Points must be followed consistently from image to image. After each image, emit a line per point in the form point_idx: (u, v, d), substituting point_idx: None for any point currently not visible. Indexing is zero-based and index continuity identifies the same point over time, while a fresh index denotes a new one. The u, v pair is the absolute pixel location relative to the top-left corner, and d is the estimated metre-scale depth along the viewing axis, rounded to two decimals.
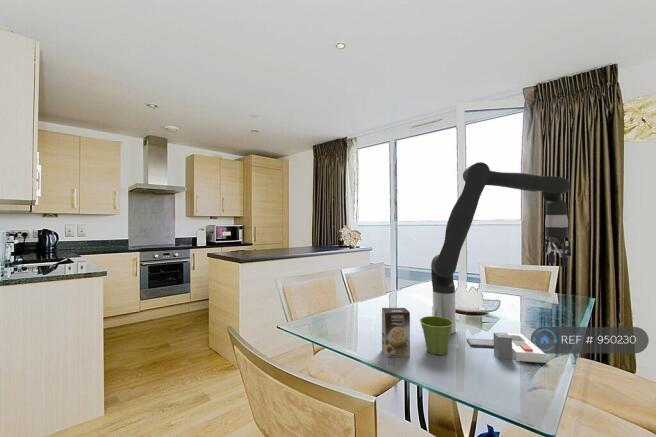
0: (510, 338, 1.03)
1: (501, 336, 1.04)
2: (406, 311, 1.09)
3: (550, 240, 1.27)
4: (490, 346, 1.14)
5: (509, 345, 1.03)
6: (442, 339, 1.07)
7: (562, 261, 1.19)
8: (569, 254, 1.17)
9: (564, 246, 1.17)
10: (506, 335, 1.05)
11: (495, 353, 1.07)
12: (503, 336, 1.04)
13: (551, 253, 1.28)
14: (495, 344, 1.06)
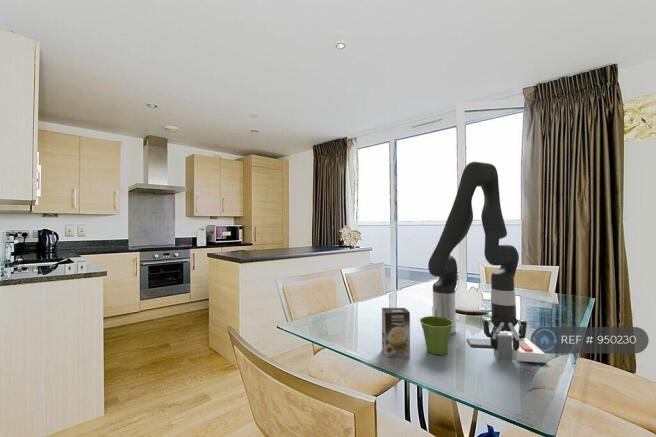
0: (510, 338, 1.03)
1: (501, 336, 1.04)
2: (406, 311, 1.09)
3: (496, 319, 1.05)
4: (490, 346, 1.14)
5: (509, 345, 1.03)
6: (442, 339, 1.07)
7: (518, 344, 1.04)
8: None
9: None
10: (506, 335, 1.05)
11: (495, 353, 1.07)
12: (503, 336, 1.04)
13: None
14: None
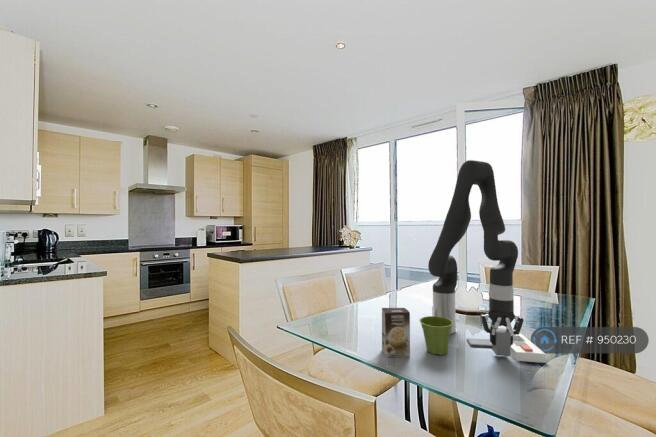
0: (509, 334, 1.03)
1: (500, 331, 1.05)
2: (406, 311, 1.09)
3: (494, 314, 1.05)
4: (490, 346, 1.14)
5: (507, 341, 1.03)
6: (442, 338, 1.07)
7: (512, 340, 1.04)
8: None
9: None
10: (505, 331, 1.05)
11: (493, 348, 1.07)
12: (502, 332, 1.04)
13: None
14: None
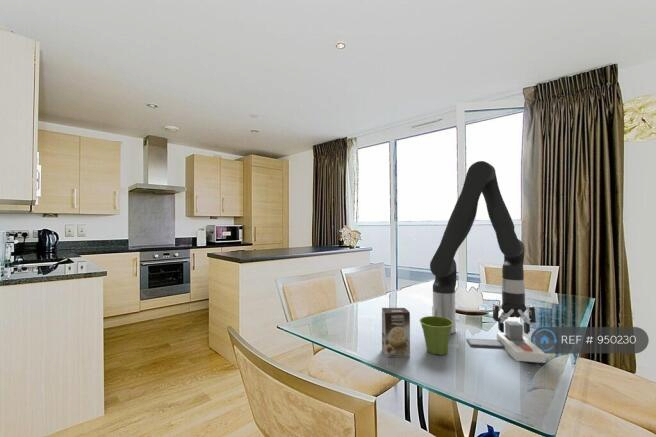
0: (521, 326, 1.13)
1: (512, 324, 1.14)
2: (406, 311, 1.09)
3: (507, 307, 1.14)
4: (490, 346, 1.14)
5: (520, 332, 1.13)
6: (442, 339, 1.07)
7: (529, 328, 1.13)
8: None
9: None
10: (517, 323, 1.15)
11: None
12: (514, 324, 1.14)
13: None
14: (507, 332, 1.16)
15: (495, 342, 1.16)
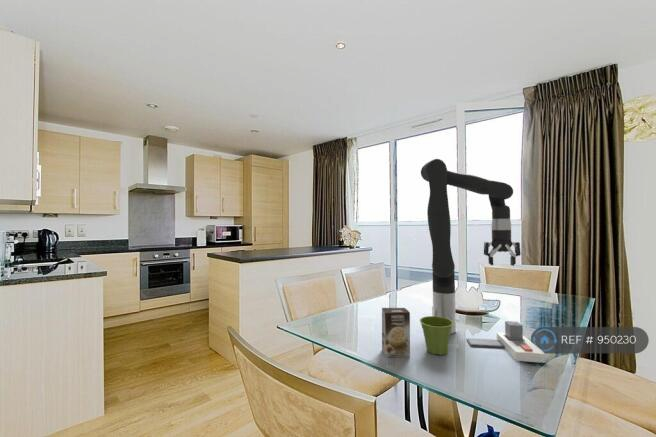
0: (521, 326, 1.13)
1: (512, 324, 1.14)
2: (406, 311, 1.09)
3: (496, 243, 1.33)
4: (490, 346, 1.14)
5: (520, 332, 1.13)
6: (442, 339, 1.07)
7: (514, 260, 1.32)
8: None
9: None
10: (517, 323, 1.15)
11: None
12: (514, 324, 1.14)
13: None
14: (507, 332, 1.16)
15: (495, 342, 1.16)
